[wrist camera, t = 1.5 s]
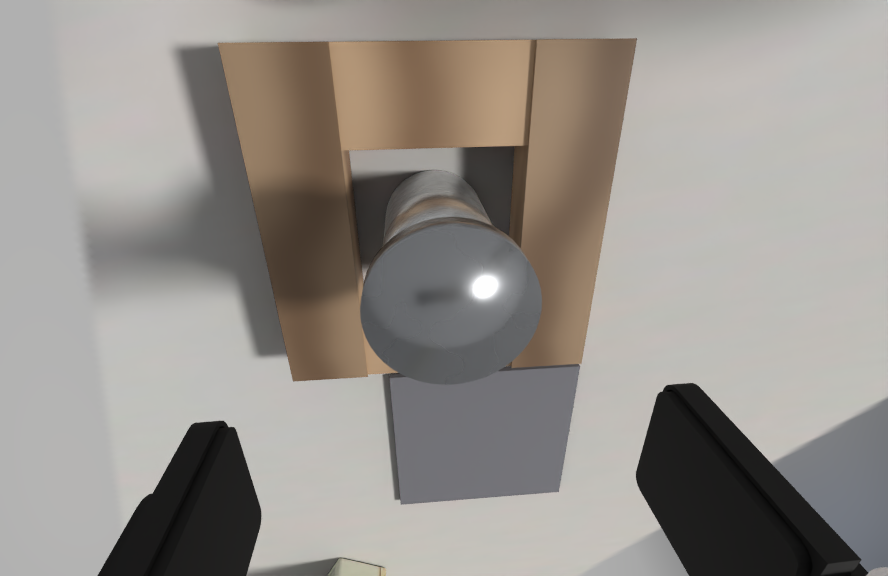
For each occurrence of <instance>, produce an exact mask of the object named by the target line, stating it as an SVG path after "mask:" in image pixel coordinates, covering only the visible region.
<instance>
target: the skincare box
mask: <svg viewBox="0 0 888 576" xmlns="http://www.w3.org/2000/svg"><path fill="white" fill-rule="evenodd" d="M327 576H386V569H385V568H383V567H378V566H374V565H369V564H365V563H360V562H356V561H352V560H347V559H343V558H339V559H338V561H337V562H336V564H335V565H334V566H333V568H332V569H331V571H330V572H329V574H328V575H327Z"/></svg>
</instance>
